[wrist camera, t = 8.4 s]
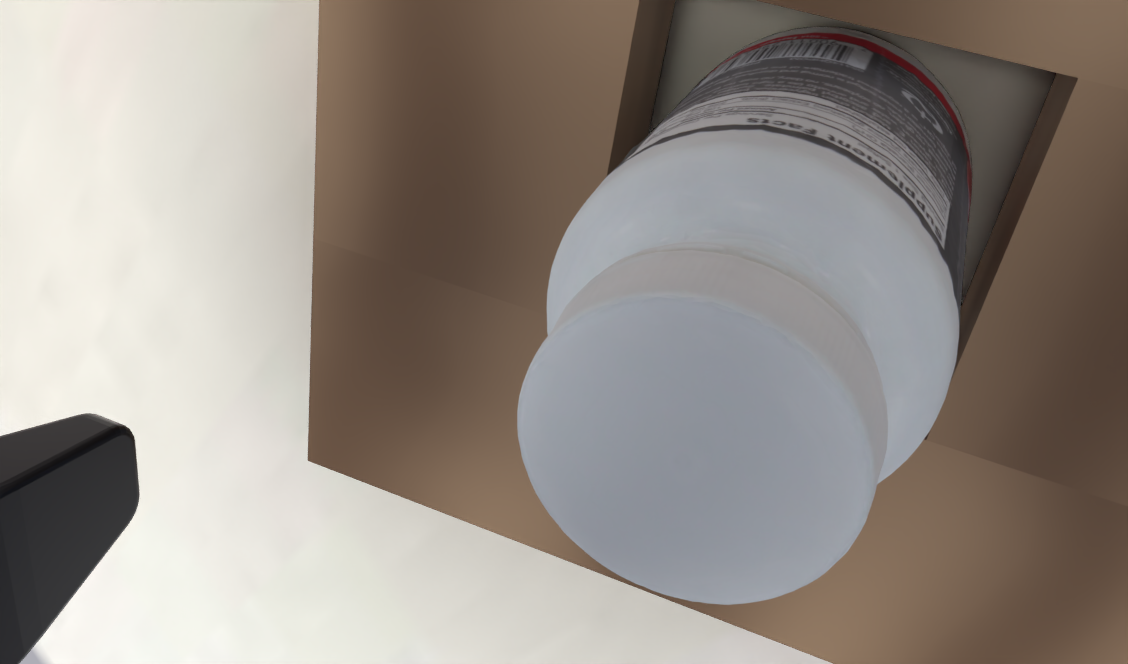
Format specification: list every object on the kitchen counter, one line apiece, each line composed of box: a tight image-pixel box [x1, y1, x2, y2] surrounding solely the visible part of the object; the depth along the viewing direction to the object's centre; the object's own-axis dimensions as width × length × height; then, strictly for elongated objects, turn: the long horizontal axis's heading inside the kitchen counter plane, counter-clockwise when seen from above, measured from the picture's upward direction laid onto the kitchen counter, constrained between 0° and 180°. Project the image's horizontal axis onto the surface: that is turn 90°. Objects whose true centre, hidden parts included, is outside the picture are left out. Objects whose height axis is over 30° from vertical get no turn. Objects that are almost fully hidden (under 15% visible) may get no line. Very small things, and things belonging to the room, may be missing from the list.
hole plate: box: [308, 0, 1128, 664], centre depth 18 cm, size 18×18×2 cm
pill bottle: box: [517, 27, 972, 605], centre depth 15 cm, size 5×5×10 cm
